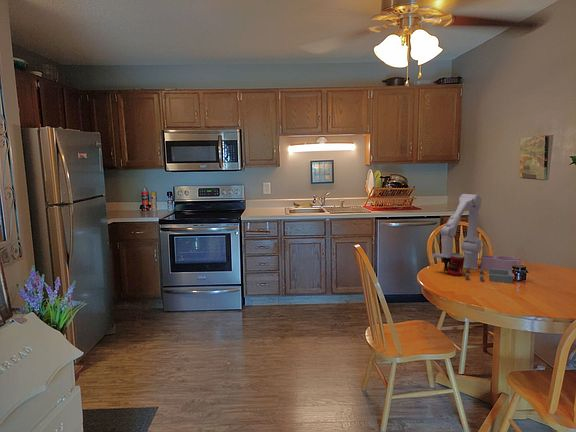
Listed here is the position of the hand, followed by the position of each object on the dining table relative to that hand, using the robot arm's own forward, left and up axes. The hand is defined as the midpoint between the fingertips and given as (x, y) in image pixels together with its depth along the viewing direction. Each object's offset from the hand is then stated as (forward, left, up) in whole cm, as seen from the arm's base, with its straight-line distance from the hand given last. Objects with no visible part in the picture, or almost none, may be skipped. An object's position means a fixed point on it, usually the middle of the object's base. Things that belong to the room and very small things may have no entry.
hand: (445, 271), depth 225 cm
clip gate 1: (0, +11, -1) cm, 11 cm away
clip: (-22, +28, -2) cm, 35 cm away
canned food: (0, +5, -1) cm, 5 cm away
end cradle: (0, +26, -1) cm, 26 cm away
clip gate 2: (0, +18, -1) cm, 18 cm away
